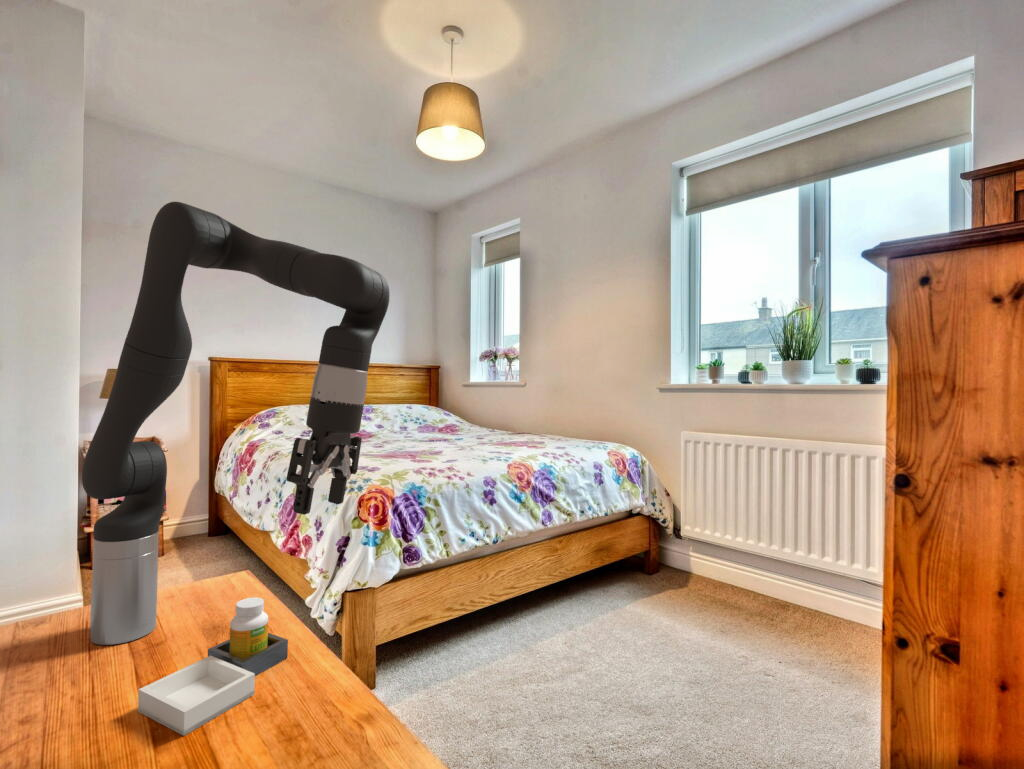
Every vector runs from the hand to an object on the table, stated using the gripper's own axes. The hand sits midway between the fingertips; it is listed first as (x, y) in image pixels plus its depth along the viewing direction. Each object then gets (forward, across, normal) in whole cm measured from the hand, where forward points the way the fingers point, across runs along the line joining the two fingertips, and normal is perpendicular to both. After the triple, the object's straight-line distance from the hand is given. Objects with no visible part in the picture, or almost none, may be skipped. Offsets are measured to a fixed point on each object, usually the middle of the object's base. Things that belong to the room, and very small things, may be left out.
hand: (319, 507), depth 76 cm
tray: (+28, +5, -10) cm, 31 cm away
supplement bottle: (+28, -5, -11) cm, 31 cm away
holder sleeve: (+28, -5, -11) cm, 30 cm away
